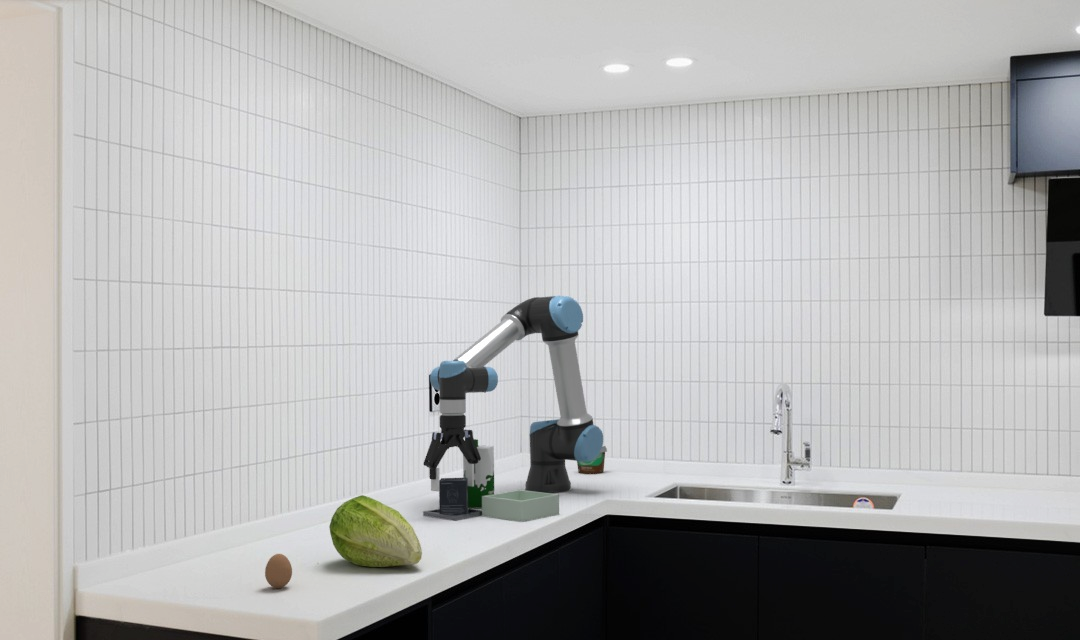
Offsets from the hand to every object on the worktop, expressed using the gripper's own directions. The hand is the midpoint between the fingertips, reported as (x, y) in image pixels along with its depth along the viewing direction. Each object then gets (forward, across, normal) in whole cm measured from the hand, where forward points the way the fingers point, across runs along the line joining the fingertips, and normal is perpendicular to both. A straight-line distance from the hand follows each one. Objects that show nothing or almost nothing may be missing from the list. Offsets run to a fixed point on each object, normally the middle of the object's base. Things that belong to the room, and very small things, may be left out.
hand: (452, 488), depth 303 cm
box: (+8, 0, 0) cm, 8 cm away
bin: (+8, -12, +15) cm, 21 cm away
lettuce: (+9, +56, +35) cm, 66 cm away
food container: (+7, -94, -27) cm, 98 cm away
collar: (+8, 0, 0) cm, 8 cm away
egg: (+9, +83, +36) cm, 91 cm away
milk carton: (+8, -16, -6) cm, 19 cm away
